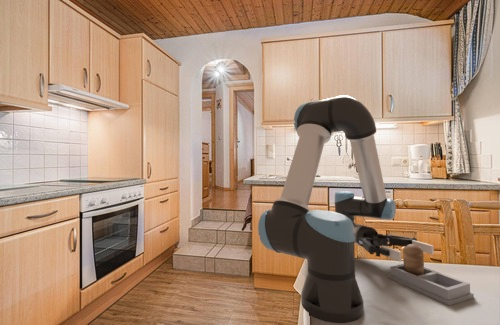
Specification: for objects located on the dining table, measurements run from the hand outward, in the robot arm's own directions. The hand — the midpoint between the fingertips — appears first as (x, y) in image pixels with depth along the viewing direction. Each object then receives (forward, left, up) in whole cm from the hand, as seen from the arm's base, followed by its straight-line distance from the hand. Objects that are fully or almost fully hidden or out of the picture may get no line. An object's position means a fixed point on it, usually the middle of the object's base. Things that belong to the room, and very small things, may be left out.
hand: (417, 253), depth 78 cm
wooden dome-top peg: (-1, +1, -8) cm, 8 cm away
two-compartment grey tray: (+1, -3, -9) cm, 9 cm away
